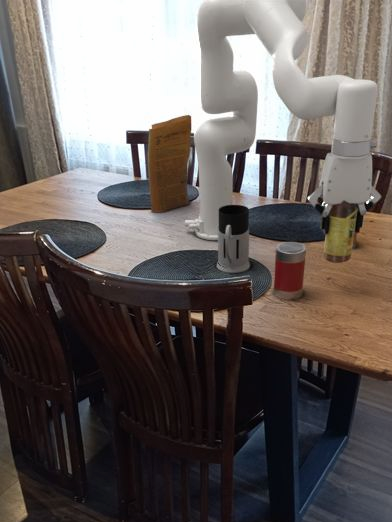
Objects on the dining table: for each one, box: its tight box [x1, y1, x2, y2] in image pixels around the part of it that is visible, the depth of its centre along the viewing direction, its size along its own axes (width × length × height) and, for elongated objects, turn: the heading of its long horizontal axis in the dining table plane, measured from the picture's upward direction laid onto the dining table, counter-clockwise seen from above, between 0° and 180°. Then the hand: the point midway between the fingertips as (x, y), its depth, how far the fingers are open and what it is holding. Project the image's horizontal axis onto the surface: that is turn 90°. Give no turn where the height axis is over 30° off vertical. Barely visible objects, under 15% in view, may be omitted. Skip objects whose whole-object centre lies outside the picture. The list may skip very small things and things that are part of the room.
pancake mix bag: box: [147, 114, 192, 213], centre depth 171 cm, size 7×19×28 cm, turn 131°
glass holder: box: [216, 204, 251, 274], centre depth 132 cm, size 9×14×15 cm, turn 167°
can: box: [273, 241, 307, 301], centre depth 122 cm, size 7×7×12 cm
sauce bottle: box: [323, 200, 358, 264], centre depth 116 cm, size 6×6×20 cm
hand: (340, 230), depth 118 cm, fingers closed on sauce bottle, 6 cm apart
